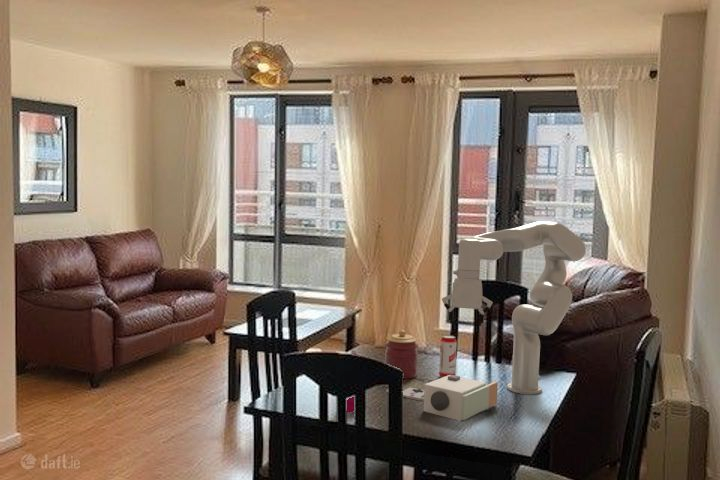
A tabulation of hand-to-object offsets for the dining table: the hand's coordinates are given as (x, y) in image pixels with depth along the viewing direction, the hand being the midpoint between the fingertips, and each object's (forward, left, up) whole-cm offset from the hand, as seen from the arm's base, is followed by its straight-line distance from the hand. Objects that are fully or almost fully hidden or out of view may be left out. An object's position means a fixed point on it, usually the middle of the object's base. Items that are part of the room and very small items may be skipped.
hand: (465, 324), depth 241 cm
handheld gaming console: (+6, -12, -27) cm, 31 cm away
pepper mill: (+35, -21, -27) cm, 49 cm away
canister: (-12, -34, -27) cm, 45 cm away
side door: (+9, +11, -26) cm, 30 cm away
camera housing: (+12, +4, -27) cm, 29 cm away
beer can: (-22, -19, -27) cm, 40 cm away
